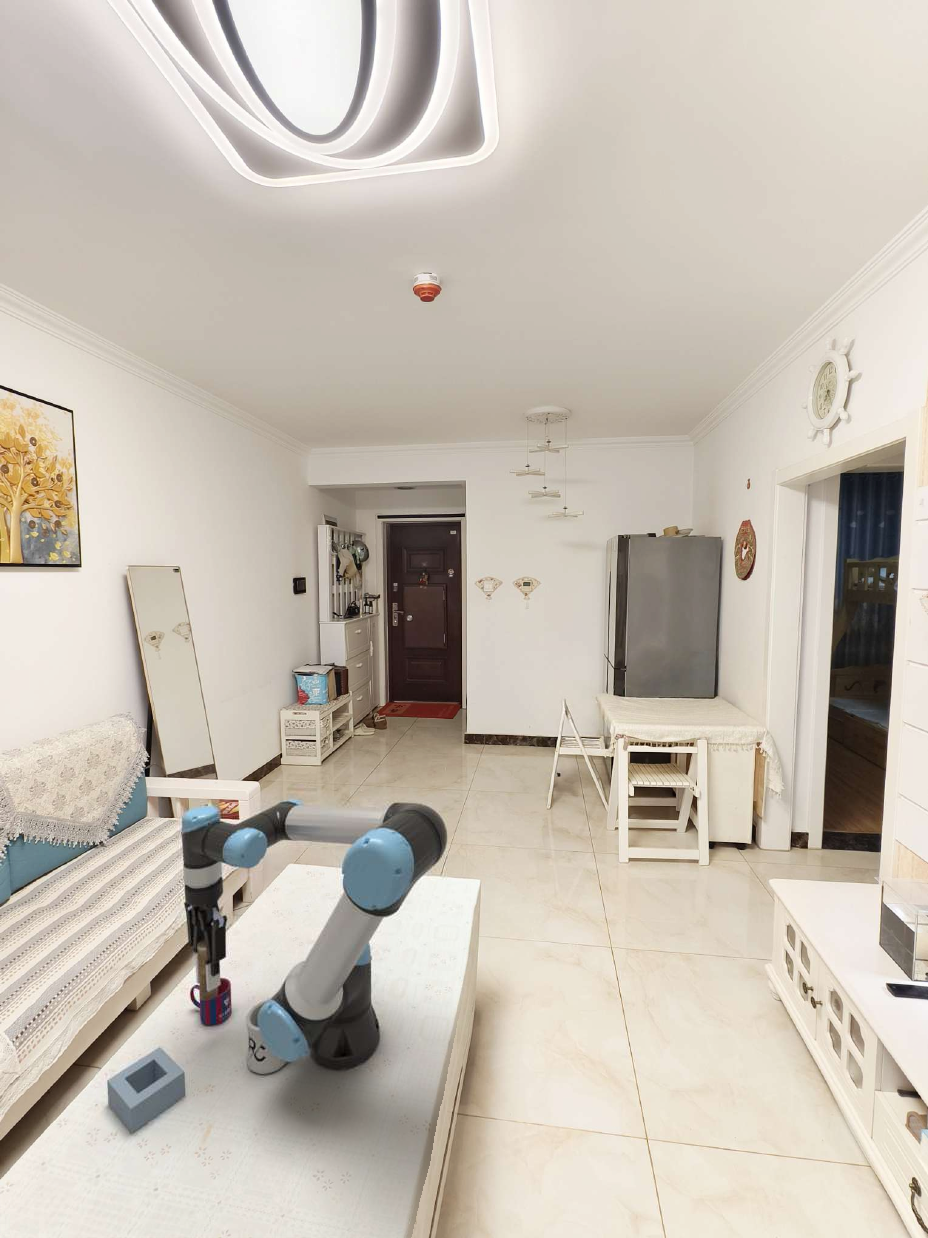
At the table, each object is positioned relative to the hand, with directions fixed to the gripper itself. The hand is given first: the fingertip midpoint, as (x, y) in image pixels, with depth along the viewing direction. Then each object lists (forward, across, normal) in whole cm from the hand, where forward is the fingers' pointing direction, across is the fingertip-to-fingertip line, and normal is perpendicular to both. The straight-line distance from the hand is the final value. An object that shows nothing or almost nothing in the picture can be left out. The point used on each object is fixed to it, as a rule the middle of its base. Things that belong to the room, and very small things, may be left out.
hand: (208, 983), depth 127 cm
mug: (+14, -15, -6) cm, 22 cm away
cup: (+14, +8, -4) cm, 17 cm away
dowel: (+3, 0, 0) cm, 3 cm away
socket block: (+14, -3, +15) cm, 21 cm away
